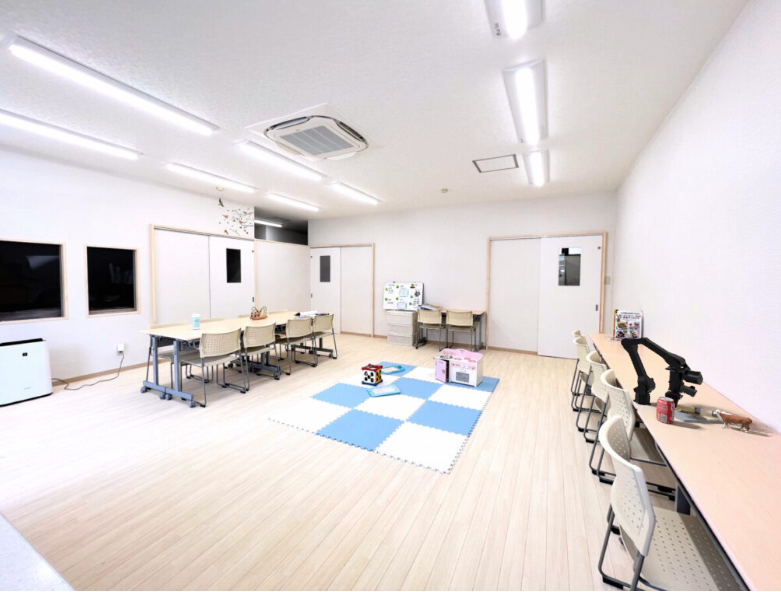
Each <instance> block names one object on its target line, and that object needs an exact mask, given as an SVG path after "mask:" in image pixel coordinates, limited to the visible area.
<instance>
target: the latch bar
mask: <svg viewBox="0 0 781 592" xmlns="http://www.w3.org/2000/svg"><path fill="white" fill-rule="evenodd" d="M675 410H678V411H681V410H684V411H688V412H692V413H695V414H700V412H701V410H702V409H701V407H698V406H694V407H693V406H687V405H684V404H679V403H678V404H677V407H676V408H675Z"/></svg>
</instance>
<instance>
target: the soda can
mask: <svg viewBox="0 0 781 592" xmlns="http://www.w3.org/2000/svg"><path fill="white" fill-rule="evenodd" d="M655 410H656V411H655V412H656V413H655V416H656V417H655V418H656V420H658V421H659V422H660V423H663V424H667V423H668V424H672V423H674V420H675V417H674V411H675V410H676V409H675V403H674V402H673V399H671V398H668V397H665V396H659V397H658V399H657V401H656V409H655Z"/></svg>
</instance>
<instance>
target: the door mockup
mask: <svg viewBox="0 0 781 592" xmlns="http://www.w3.org/2000/svg"><path fill="white" fill-rule="evenodd" d="M715 411H716V410H714V411H712V410H711V409H701V412H700V414H695V413H692V412H688V411H684V410H677V409H675V411H674V419H677V420H679V421H681V422H683V423H697V424H698V423H700V424H701V423H702V424H703V423H704V424H724V422H722V421H721V420H720V418H719V417H718V416H717V415H716V414H713V412H715ZM730 424H732V423H728V425H730Z"/></svg>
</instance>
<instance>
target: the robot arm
mask: <svg viewBox="0 0 781 592" xmlns="http://www.w3.org/2000/svg"><path fill="white" fill-rule="evenodd" d="M620 344H621V346H622V348H623V350H624V351H626V352H627V355H628V357H629V358H630V361H631V364H632V367H633V368H634V372H635V373H636V376H637V381H636V382H637V386H635V387H633V388H632V390H633V392H634V399H632V401H633V402H635V403H636V404H639V405H640V406H641V405H647V406H648V405H649V406H651V405H652V403H651V393H652V392H653V391H654V390H655V389H656V385H657V383H656V382H655V379H654V377H650V376H649V375H648V373H647V371H646V368H645V367H644V364H643V360H642V359H641V357H640V354H639V351H638V350H639V345H643V346H644V347H645V348H647V349H649V350H650V351H651V352H653V353H655V354H656V355H658V356H659V357H661V359H663V360H664V362H665V364H667V365H668V366H666V367H665V368H664V370H666V371H669V375H668V376H669V380H668V382H667V383H668V388H667V391H665V393H664V397H667V398H671V399H673V402H674V403H675V408H676V407H677V404H679V401H680V400H681V399H683V397H684V395H683V394H685V395H688V396H689V397H692V398H695V396H696V394H697V393H698V390H697V389H696V385H698V386H701V385H702V384H703V382H704V377H703V375H702V372H701V371H698V370H692V369H691V367H690V366H689V364H688V363H687V361H686V359H685V358H684V357H683V356H681V355H678V354H677V353H673V352H670V351H668V350H666V349H665V348H664V347H662V346H661V345H660V344H657V343H656V342H654V341H653V340H652V339H650V338H648V337H645V336H644V337H643V336H642V337H639V338H638V337H637V338H635V337H632V336H630V337H624V338H622V339H621V341H620ZM685 382H686V383H689V384H694V385H695V386H694V385H687V384H685Z"/></svg>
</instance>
